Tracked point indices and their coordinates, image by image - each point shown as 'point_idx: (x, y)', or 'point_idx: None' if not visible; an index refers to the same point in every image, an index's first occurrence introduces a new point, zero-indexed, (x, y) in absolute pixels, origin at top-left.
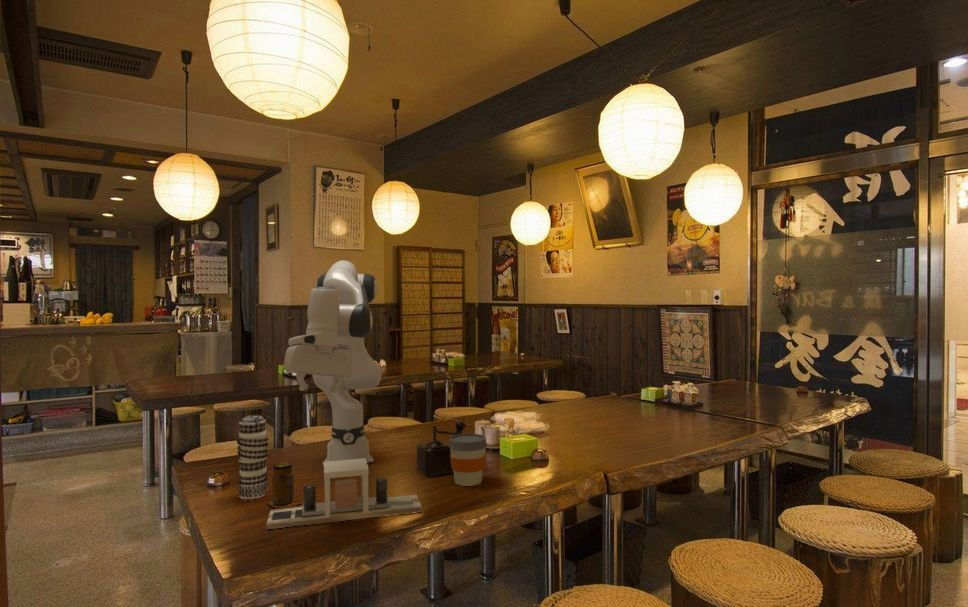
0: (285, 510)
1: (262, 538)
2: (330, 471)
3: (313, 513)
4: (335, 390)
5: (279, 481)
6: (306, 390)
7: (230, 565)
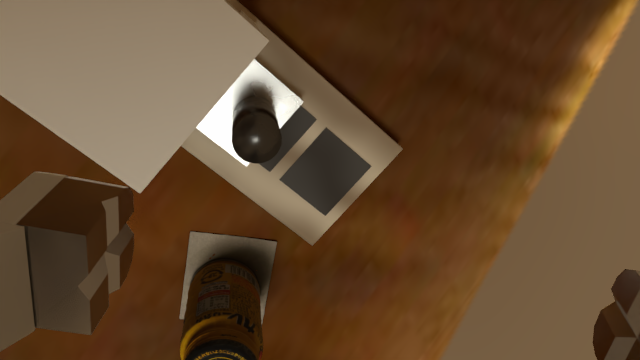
0: (289, 201)
1: (443, 101)
2: (233, 30)
3: (272, 73)
4: (73, 180)
5: (254, 319)
6: (625, 277)
7: (605, 19)
